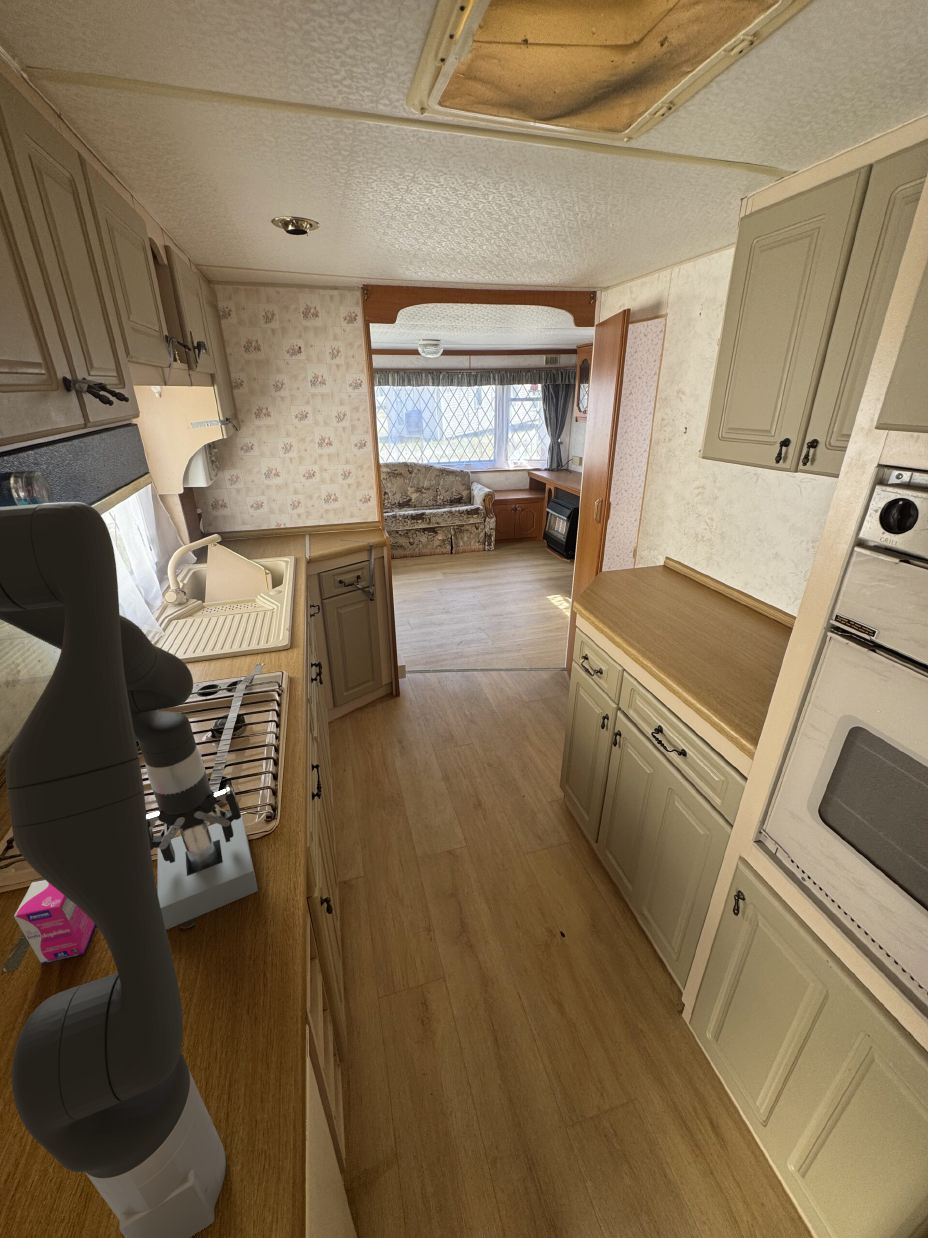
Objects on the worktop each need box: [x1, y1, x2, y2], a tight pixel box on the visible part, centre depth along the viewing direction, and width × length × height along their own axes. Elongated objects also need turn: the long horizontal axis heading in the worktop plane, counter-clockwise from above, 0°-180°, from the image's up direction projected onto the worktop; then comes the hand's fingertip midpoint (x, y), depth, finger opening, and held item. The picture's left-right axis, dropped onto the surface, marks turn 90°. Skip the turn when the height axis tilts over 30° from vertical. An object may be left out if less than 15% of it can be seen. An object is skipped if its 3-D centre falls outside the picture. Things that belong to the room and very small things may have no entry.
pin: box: [178, 820, 220, 873], centre depth 86 cm, size 4×4×12 cm
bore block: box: [157, 814, 259, 931], centre depth 88 cm, size 14×14×5 cm
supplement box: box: [13, 879, 96, 965], centre depth 76 cm, size 6×6×12 cm
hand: (201, 848), depth 86 cm, fingers open, 8 cm apart
